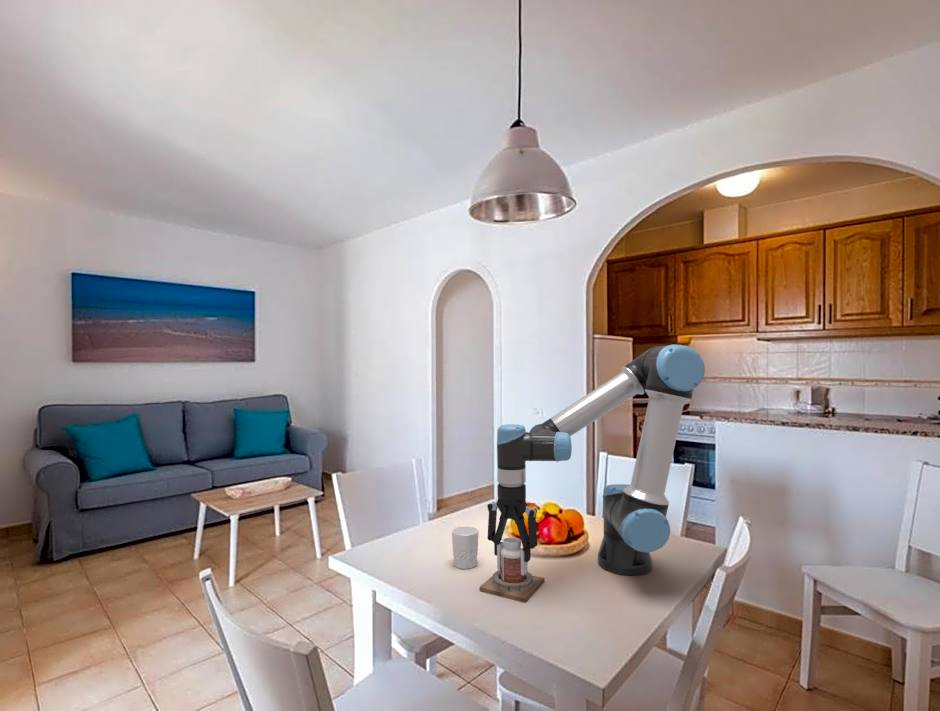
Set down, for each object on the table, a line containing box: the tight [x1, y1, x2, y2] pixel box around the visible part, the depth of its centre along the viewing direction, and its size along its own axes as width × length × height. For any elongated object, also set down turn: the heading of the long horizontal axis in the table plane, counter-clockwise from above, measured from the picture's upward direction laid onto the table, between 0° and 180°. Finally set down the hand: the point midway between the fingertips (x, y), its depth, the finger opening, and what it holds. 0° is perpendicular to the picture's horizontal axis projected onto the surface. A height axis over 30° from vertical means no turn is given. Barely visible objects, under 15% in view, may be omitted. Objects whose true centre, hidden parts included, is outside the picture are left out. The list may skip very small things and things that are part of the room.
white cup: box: [451, 525, 479, 570], centre depth 144 cm, size 8×8×10 cm
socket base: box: [478, 569, 546, 603], centre depth 129 cm, size 13×13×2 cm
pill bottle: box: [501, 536, 524, 583], centre depth 130 cm, size 6×6×11 cm
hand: (512, 570), depth 130 cm, fingers closed on pill bottle, 6 cm apart
